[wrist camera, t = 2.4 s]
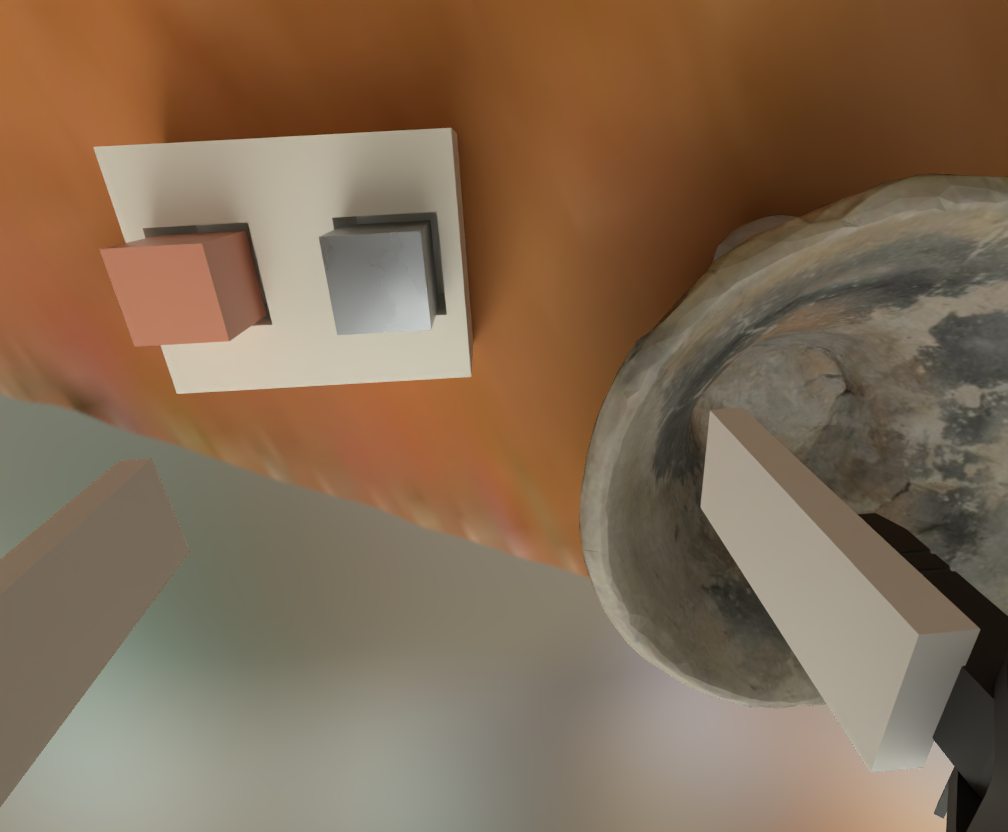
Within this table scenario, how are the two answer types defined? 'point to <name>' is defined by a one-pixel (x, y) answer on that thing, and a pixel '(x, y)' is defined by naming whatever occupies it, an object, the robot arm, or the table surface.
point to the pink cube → (186, 287)
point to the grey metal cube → (381, 277)
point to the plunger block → (304, 247)
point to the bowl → (809, 416)
